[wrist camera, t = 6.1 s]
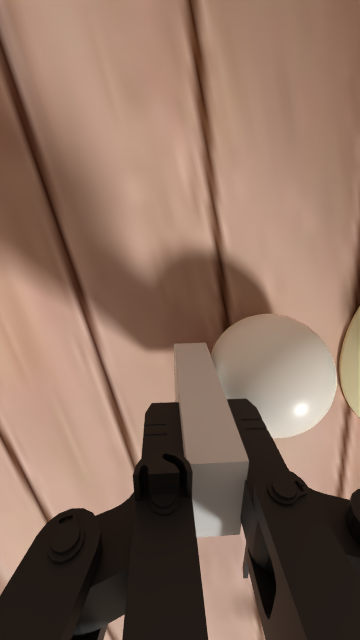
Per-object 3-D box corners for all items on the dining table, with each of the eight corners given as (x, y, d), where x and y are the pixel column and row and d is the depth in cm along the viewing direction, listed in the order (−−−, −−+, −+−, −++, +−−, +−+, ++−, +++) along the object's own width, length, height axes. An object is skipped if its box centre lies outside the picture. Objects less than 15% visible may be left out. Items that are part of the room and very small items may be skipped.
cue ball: (183, 313, 12) (263, 294, 15) (185, 413, 14) (255, 378, 17) (293, 360, 8) (375, 320, 10) (274, 495, 9) (348, 430, 12)
